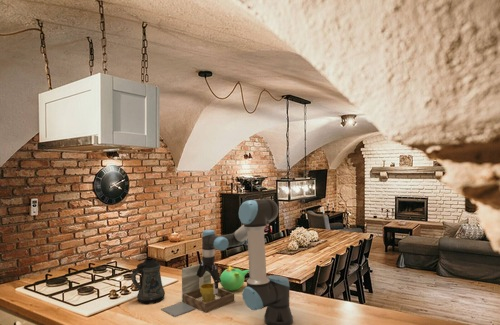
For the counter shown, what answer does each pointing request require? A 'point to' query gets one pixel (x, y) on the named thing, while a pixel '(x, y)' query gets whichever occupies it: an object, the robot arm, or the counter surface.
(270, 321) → the robot arm
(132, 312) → the counter surface
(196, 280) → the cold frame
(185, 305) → the slate pad
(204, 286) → the plant pot
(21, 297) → the counter surface
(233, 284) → the toy bird
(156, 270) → the beer stein
